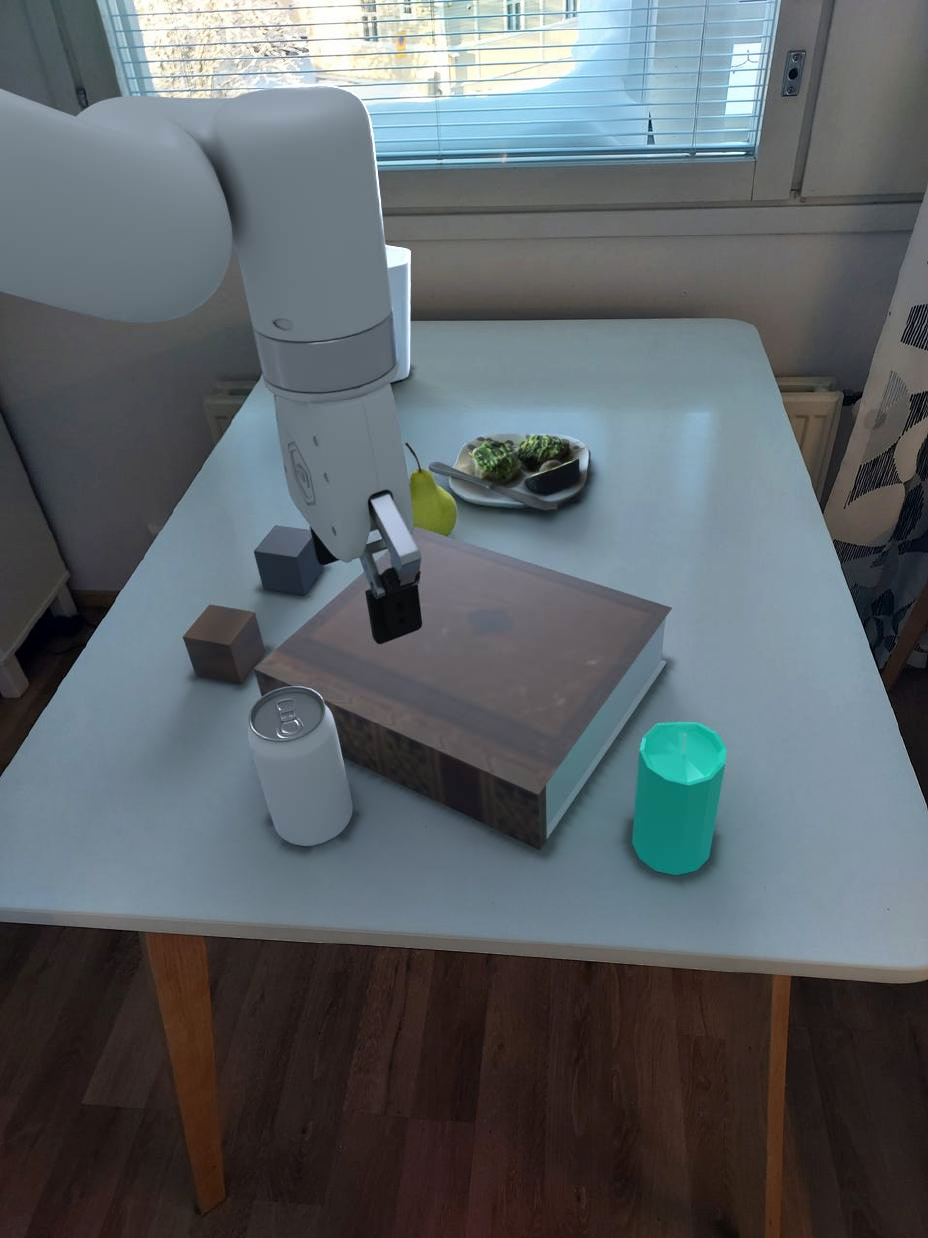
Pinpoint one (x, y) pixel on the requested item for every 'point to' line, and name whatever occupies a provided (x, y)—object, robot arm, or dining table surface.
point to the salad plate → (519, 470)
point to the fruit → (431, 503)
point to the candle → (677, 796)
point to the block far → (287, 560)
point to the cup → (400, 304)
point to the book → (481, 682)
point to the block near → (224, 643)
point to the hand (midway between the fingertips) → (367, 593)
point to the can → (300, 765)
